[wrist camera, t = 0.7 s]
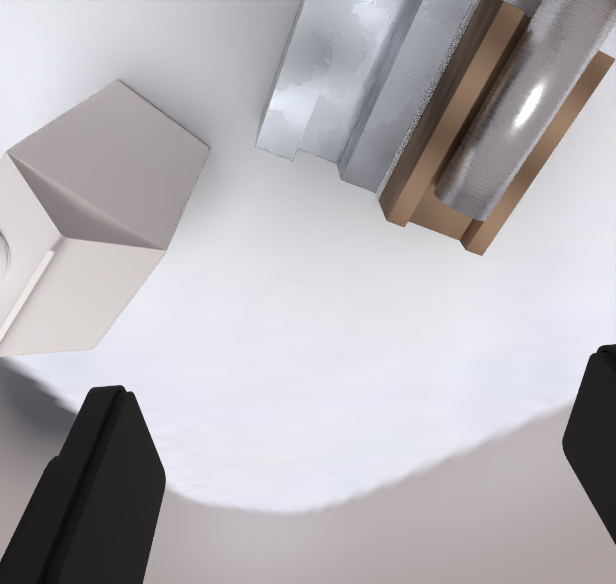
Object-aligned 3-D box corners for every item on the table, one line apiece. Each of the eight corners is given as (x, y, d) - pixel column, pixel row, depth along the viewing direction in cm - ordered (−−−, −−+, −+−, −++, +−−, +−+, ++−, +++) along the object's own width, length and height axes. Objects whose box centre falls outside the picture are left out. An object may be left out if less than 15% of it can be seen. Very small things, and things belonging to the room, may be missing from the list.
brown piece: (482, -3, 29) (504, 0, 26) (584, 50, 31) (615, 59, 28) (378, 200, 36) (386, 220, 33) (466, 234, 38) (481, 256, 35)
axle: (554, -45, 26) (593, -48, 23) (611, -13, 27) (655, -11, 24) (427, 183, 34) (442, 206, 30) (475, 202, 34) (496, 227, 31)
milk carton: (211, 147, 34) (145, 304, 18) (159, 220, 36) (62, 411, 21) (117, 77, 31) (-59, 188, 15) (69, 162, 34) (-122, 331, 18)
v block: (343, -126, 26) (355, -145, 22) (471, -57, 28) (503, -61, 24) (259, 124, 33) (255, 146, 29) (364, 166, 35) (375, 192, 31)
